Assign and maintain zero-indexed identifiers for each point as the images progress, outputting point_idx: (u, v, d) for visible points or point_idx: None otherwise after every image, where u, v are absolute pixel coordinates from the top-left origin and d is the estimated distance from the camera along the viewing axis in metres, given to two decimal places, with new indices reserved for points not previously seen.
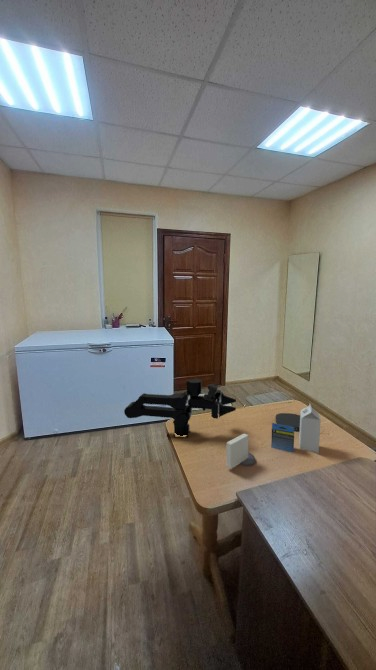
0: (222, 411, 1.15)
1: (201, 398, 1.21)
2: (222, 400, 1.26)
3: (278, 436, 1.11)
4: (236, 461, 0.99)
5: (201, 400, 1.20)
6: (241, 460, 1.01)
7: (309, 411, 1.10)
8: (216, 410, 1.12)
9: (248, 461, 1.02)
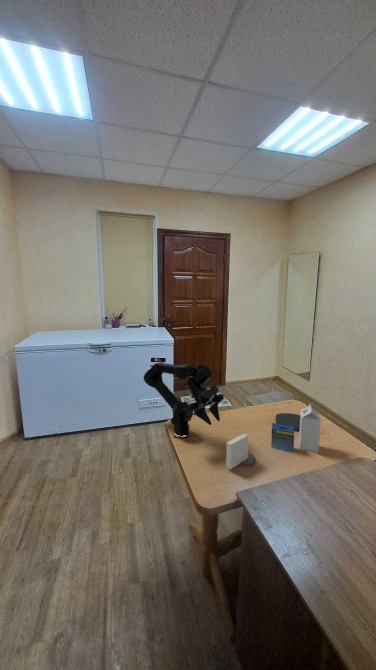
0: (200, 414, 1.10)
1: (197, 388, 1.14)
2: (211, 407, 1.14)
3: (278, 436, 1.11)
4: (236, 461, 0.99)
5: (195, 389, 1.14)
6: (241, 460, 1.01)
7: (309, 411, 1.10)
8: (189, 411, 1.07)
9: (248, 461, 1.02)
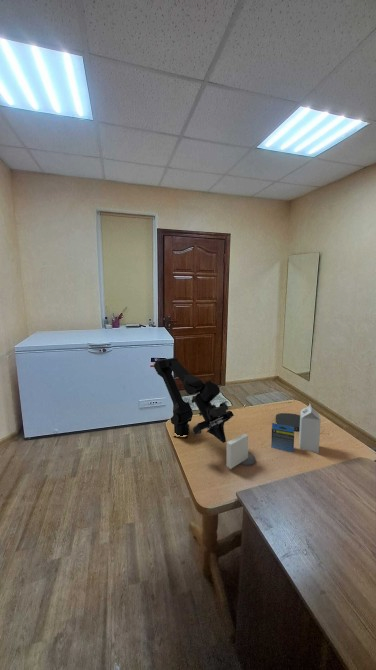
0: (213, 431, 1.06)
1: (205, 405, 1.08)
2: None
3: (278, 436, 1.11)
4: (236, 461, 0.99)
5: (203, 407, 1.08)
6: (241, 460, 1.01)
7: (309, 411, 1.10)
8: (198, 430, 1.01)
9: (248, 461, 1.02)
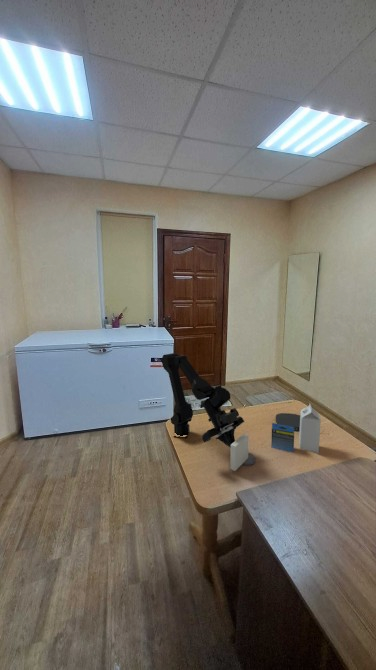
0: (223, 438, 1.02)
1: (215, 411, 1.04)
2: None
3: (278, 436, 1.11)
4: (239, 462, 0.98)
5: (213, 412, 1.04)
6: (243, 461, 1.01)
7: (309, 411, 1.10)
8: (208, 437, 0.97)
9: (249, 461, 1.02)
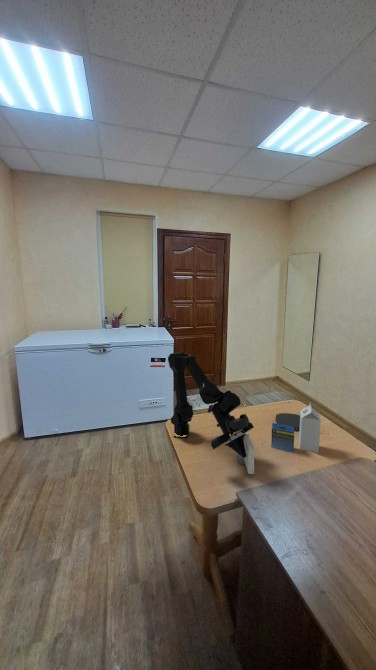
0: (232, 445, 0.99)
1: (224, 416, 1.01)
2: None
3: (278, 436, 1.11)
4: None
5: (222, 418, 1.01)
6: None
7: (309, 411, 1.10)
8: (217, 445, 0.94)
9: None
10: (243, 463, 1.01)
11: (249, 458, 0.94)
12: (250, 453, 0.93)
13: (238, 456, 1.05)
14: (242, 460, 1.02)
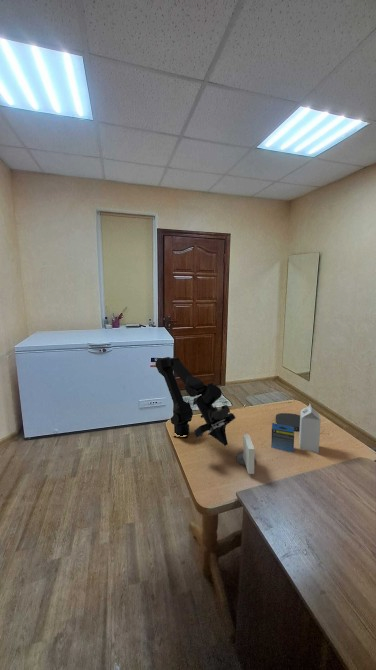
0: (214, 434, 1.06)
1: (207, 407, 1.08)
2: None
3: (278, 436, 1.11)
4: None
5: (205, 409, 1.08)
6: None
7: (309, 411, 1.10)
8: (199, 433, 1.01)
9: None
10: (243, 463, 1.01)
11: (249, 458, 0.94)
12: (250, 453, 0.93)
13: (238, 456, 1.05)
14: (242, 460, 1.02)
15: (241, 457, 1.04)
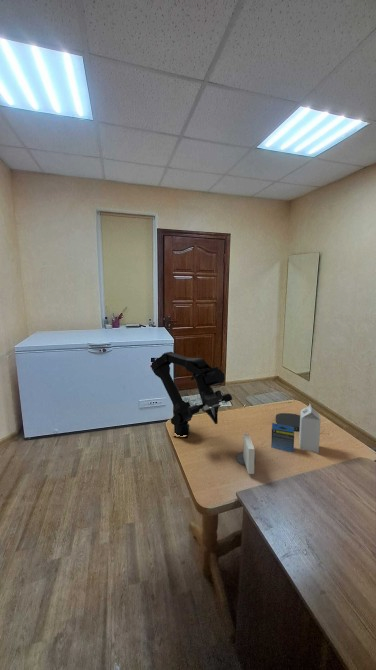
0: (207, 411, 1.12)
1: (202, 389, 1.11)
2: (212, 408, 1.13)
3: (278, 436, 1.11)
4: None
5: (200, 390, 1.11)
6: None
7: (309, 411, 1.10)
8: (189, 413, 1.09)
9: None
10: (243, 463, 1.01)
11: (249, 458, 0.94)
12: (250, 453, 0.93)
13: (238, 456, 1.05)
14: (242, 460, 1.02)
15: (241, 457, 1.04)
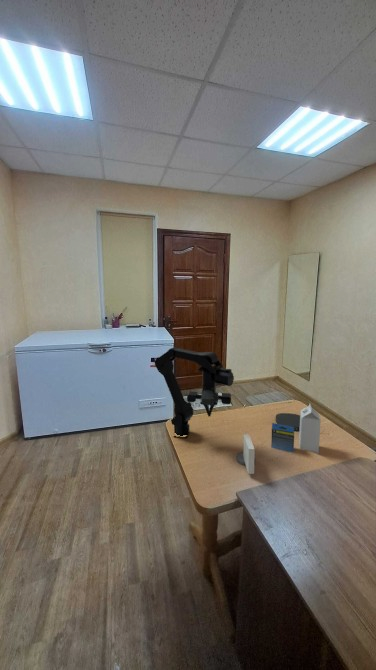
0: None
1: (205, 384, 1.12)
2: None
3: (278, 436, 1.11)
4: None
5: (203, 383, 1.13)
6: None
7: (309, 411, 1.10)
8: None
9: None
10: (243, 463, 1.01)
11: (249, 458, 0.94)
12: (250, 453, 0.93)
13: (238, 456, 1.05)
14: (242, 460, 1.02)
15: (241, 457, 1.04)
